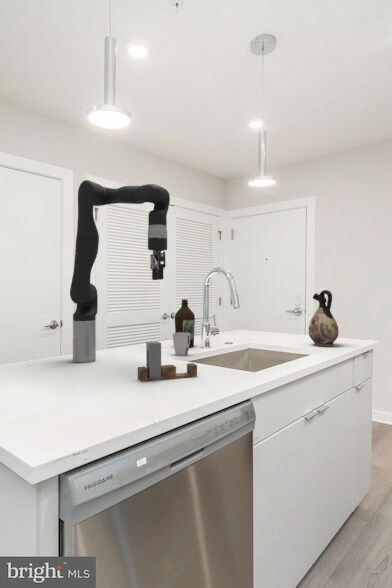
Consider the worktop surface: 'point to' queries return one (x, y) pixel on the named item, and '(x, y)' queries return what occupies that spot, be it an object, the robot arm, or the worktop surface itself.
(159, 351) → the gray rectangular block
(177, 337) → the cup
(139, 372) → the brown notched bar
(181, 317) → the olive oil
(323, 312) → the ceramic jug
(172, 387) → the worktop surface
